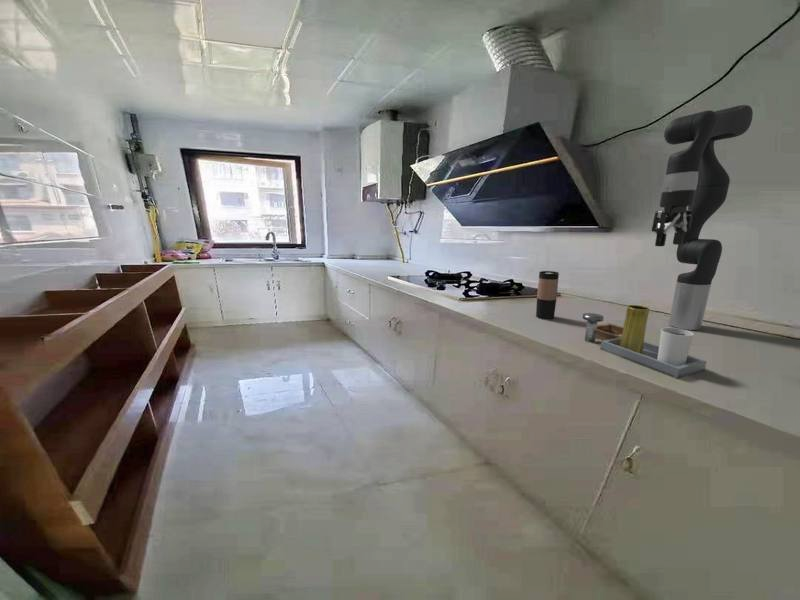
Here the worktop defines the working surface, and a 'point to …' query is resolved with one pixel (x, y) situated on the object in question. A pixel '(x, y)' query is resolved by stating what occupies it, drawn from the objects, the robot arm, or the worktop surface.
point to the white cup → (674, 346)
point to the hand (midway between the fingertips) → (668, 245)
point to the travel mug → (547, 294)
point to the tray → (654, 359)
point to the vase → (634, 328)
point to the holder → (605, 328)
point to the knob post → (591, 325)
